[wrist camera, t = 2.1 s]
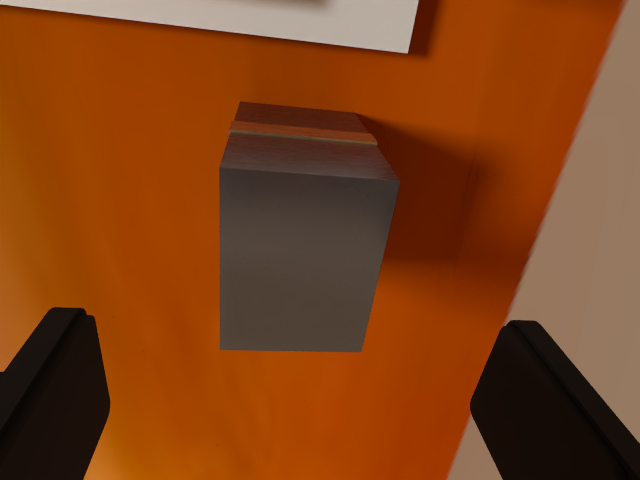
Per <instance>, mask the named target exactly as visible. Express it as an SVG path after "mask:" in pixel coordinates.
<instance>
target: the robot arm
mask: <svg viewBox="0 0 640 480" xmlns="http://www.w3.org/2000/svg"><path fill="white" fill-rule="evenodd" d="M470 410H471V414H472V417H473V419H474V421H475V423H476V425H477V427H478V429H479V431H480V433H481V435H482V437H483V439H484V442H485V443H486V446H487V448H488V450H489V452H490V454H491V456H492V458H493V460H494V462H495V464H496V466H497V469H498V471H499V473H500V475H501V477H502V479H503V480H640V443H639V442H638V441H637V440H636V439H635V438H634V436H633V435H632V434H631V433H630V431H629V430H628V429H627V428H626V427H625V425H624V424H623V423H622V422H621V421H620V420H619V418H618V417H617V416H616V415H615V414H614V412H613V411H612V410H611V409H610V407H609V406H608V405H607V404H606V403H605V401H604V400H603V399H602V398H601V397H600V395H599V394H598V393H597V392H596V391H595V389H594V388H593V387H592V386H591V385H590V383H589V382H588V381H587V380H586V379H585V377H584V376H583V375H582V374H581V373H580V371H579V370H578V369H577V368H576V367H575V365H574V364H573V363H572V362H571V361H570V359H569V358H568V357H567V356H566V355H565V353H564V352H563V351H562V350H561V349H560V347H559V346H558V345H557V344H556V343H555V341H554V340H553V339H552V338H551V337H550V335H549V334H548V333H547V332H546V331H545V329H544V328H543V327H542V326H541V325H540V324H539V323H538V322H536V321H524V320H512V321H510V322H509V323H508V324H507V325H506V326H503V327H502V328H501V330H500V332H499V334H498V337H497V339H496V342H495V344H494V346H493V349H492V351H491V353H490V356H489V358H488V361H487V363H486V365H485V368H484V370H483V372H482V375H481V377H480V380H479V382H478V384H477V387H476V389H475V391H474V394H473V396H472V399H471V402H470ZM109 411H110V397H109V392H108V387H107V381H106V376H105V370H104V365H103V360H102V354H101V349H100V344H99V338H98V333H97V327H96V322H95V318H94V316H92V315H87V314H86V311H85V310H84V309H83V308H61V307H54V308H51V309H50V310H49V311H48V312H47V313H46V315H45V316H44V318H43V319H42V320H41V322H40V323H39V324H38V326H37V327H36V328H35V330H34V331H33V333H32V334H31V335H30V337H29V338H28V339H27V341H26V342H25V344H24V345H23V346H22V348H21V349H20V350H19V352H18V353H17V354H16V356H15V357H14V359H13V360H12V361H11V363H10V364H9V365H8V367H7V368H6V369H5V371H4V372H0V480H83V479H84V476H85V474H86V471H87V469H88V466H89V464H90V461H91V459H92V456H93V454H94V451H95V449H96V446H97V444H98V441H99V439H100V436H101V434H102V431H103V429H104V426H105V424H106V421H107V418H108V415H109Z"/></svg>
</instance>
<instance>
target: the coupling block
mask: <svg viewBox="0 0 640 480" xmlns="http://www.w3.org/2000/svg"><path fill="white" fill-rule="evenodd" d="M377 145H378V142H377V141H376V139H375V138H374V136H373V135H372V134H371V133H368V131H367V130H366V128H365V127H364V125H363V124H362V122H361V121H360V119H359V118H358V116H357V115H356V113H351V112H341V111H331V110H321V109H311V108H300V107H290V106H280V105H270V104H260V103H250V102H240V103H239V107H238V110H237V113H236V116H235V119H234V121H232V122H231V125H230V128H229V139H228V142H227V145H226V148H225V152H224V155H223V158H222V161H221V164H220V350H257V351H318V352H361V351H362V347H363V342H364V338H365V334H366V329H367V325H368V321H369V316H370V312H371V308H372V303H373V299H374V295H375V290H376V286H377V281H378V277H379V273H380V268H381V264H382V260H383V255H384V251H385V247H386V242H387V238H388V234H389V229H390V225H391V221H392V216H393V212H394V208H395V203H396V199H397V195H398V190H399V186H400V182H401V181H400V180H399V178H398V177H397V175H396V174H395V172H394V171H393V169H392V168H391V166H390V165H389V163H388V162H387V160H386V159H385V157H384V156H383V154H382V153H381V151H380V150H379V148H378V147H377Z"/></svg>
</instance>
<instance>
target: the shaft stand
mask: <svg viewBox="0 0 640 480" xmlns="http://www.w3.org/2000/svg"><path fill="white" fill-rule="evenodd" d="M418 1H419V0H0V4H2V5H11V6H19V7H27V8H36V9H44V10H52V11H60V12H69V13H77V14H85V15H94V16H102V17H110V18H118V19H127V20H135V21H143V22H152V23H160V24H168V25H176V26H185V27H193V28H201V29H210V30H218V31H226V32H234V33H243V34H251V35H259V36H268V37H276V38H284V39H293V40H301V41H309V42H317V43H326V44H334V45H342V46H351V47H359V48H367V49H375V50H384V51H392V52H400V53H408V50H409V45H410V40H411V35H412V31H413V26H414V21H415V16H416V11H417V6H418Z"/></svg>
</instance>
